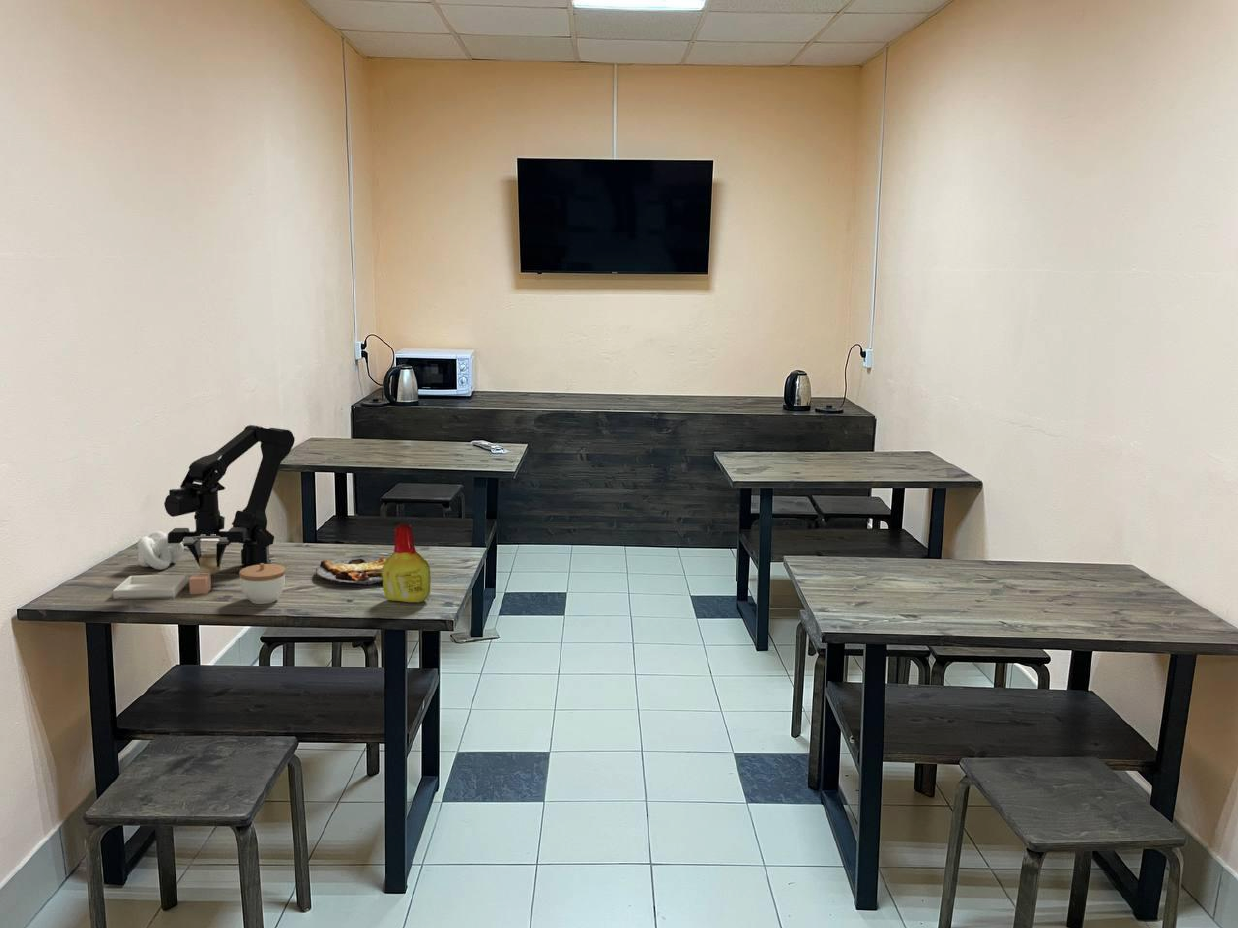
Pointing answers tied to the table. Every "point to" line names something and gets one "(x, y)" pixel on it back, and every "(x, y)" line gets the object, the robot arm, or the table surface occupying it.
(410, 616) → the table surface
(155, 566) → the white knot sculpture
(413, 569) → the bottle
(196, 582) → the terracotta block
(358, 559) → the food plate
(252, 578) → the lidded jar
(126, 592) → the tray
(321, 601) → the table surface
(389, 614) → the table surface
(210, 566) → the beech block
